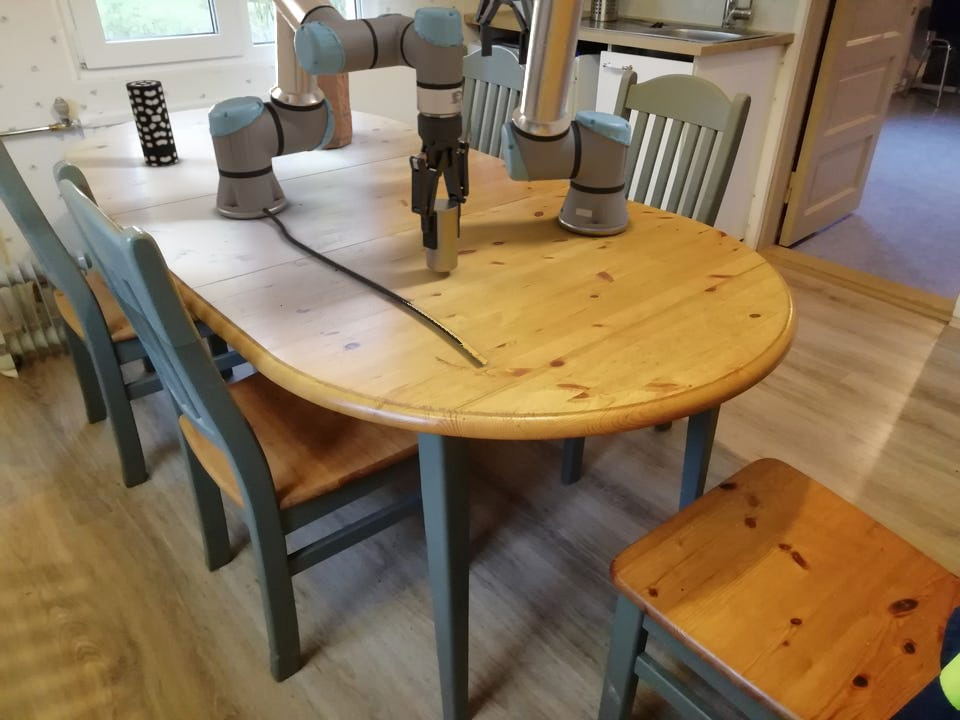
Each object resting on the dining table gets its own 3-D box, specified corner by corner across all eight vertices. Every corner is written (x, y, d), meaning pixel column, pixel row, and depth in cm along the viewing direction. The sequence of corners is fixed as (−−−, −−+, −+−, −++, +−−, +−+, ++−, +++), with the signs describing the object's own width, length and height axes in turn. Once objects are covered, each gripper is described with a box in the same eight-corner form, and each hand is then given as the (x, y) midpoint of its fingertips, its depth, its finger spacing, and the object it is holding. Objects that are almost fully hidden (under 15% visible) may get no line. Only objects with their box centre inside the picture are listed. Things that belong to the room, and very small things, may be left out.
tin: (427, 258, 132) (425, 198, 125) (458, 258, 132) (458, 198, 126) (425, 271, 127) (423, 210, 120) (457, 272, 127) (457, 210, 121)
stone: (358, 147, 199) (349, 40, 185) (319, 150, 196) (306, 42, 182) (347, 131, 217) (337, 33, 202) (310, 134, 214) (298, 34, 199)
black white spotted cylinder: (184, 157, 190) (167, 80, 179) (169, 166, 183) (151, 87, 172) (155, 156, 190) (136, 79, 179) (139, 165, 183) (119, 86, 172)
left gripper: (419, 127, 106) (423, 264, 119) (491, 105, 119) (488, 231, 132) (383, 119, 110) (391, 253, 122) (457, 98, 123) (457, 221, 135)
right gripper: (459, -45, 159) (460, 54, 171) (533, -40, 143) (528, 69, 154) (485, -46, 163) (483, 51, 175) (559, -41, 147) (552, 66, 158)
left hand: (441, 241), depth 127 cm, fingers closed on tin, 6 cm apart
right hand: (504, 60), depth 165 cm, fingers open, 13 cm apart
